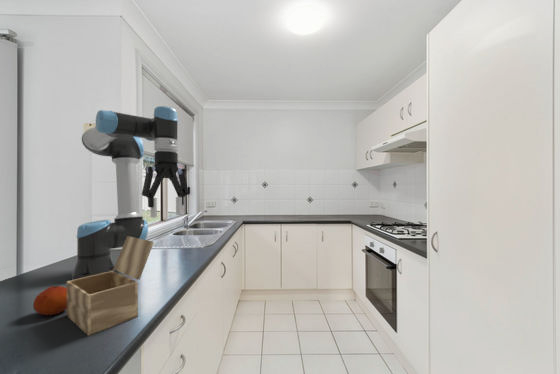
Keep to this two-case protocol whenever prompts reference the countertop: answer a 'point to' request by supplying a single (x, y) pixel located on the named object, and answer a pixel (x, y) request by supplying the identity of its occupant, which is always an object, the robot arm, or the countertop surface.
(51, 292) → the fruit
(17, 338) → the countertop surface
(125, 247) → the flap
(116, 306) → the wooden box
